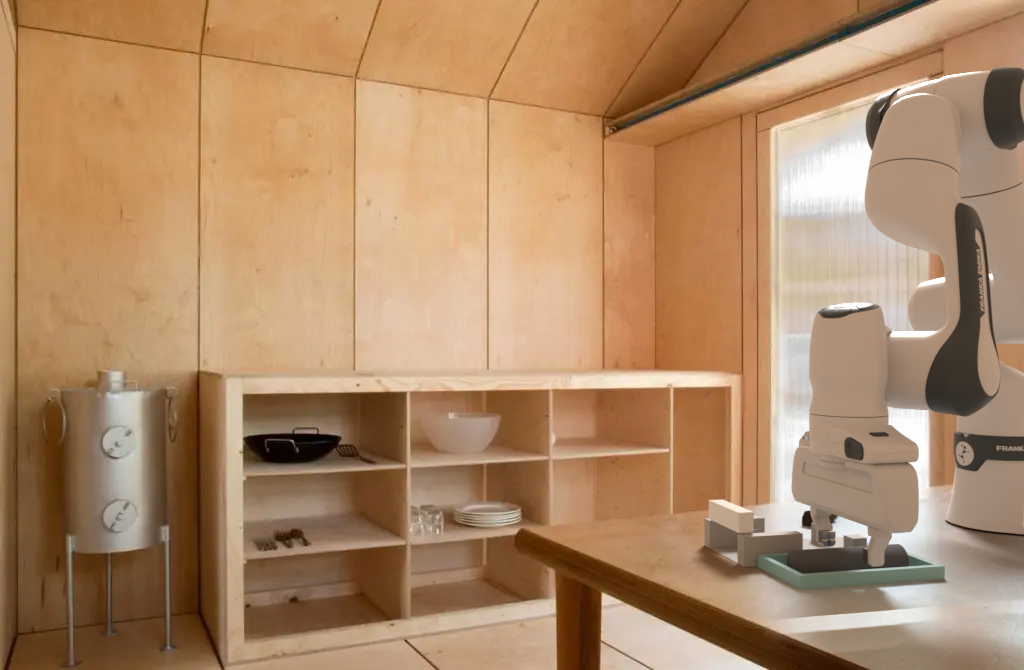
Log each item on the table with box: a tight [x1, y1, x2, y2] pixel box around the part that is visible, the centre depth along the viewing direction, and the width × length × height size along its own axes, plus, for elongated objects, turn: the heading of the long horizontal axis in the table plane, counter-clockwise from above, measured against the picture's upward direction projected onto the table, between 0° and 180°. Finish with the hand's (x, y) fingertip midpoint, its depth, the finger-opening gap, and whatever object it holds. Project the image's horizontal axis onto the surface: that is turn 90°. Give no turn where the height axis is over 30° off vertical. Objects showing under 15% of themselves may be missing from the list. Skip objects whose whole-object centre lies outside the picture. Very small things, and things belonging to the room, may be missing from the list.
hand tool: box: [801, 510, 838, 528], centre depth 134 cm, size 19×4×5 cm, turn 147°
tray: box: [756, 551, 946, 590], centre depth 102 cm, size 19×10×3 cm, turn 103°
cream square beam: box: [708, 499, 755, 533], centre depth 110 cm, size 2×8×2 cm, turn 12°
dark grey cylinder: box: [787, 543, 909, 574], centre depth 102 cm, size 14×4×4 cm, turn 102°
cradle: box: [703, 515, 869, 568], centre depth 112 cm, size 22×11×5 cm, turn 102°
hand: (848, 554), depth 102 cm, fingers open, 8 cm apart
